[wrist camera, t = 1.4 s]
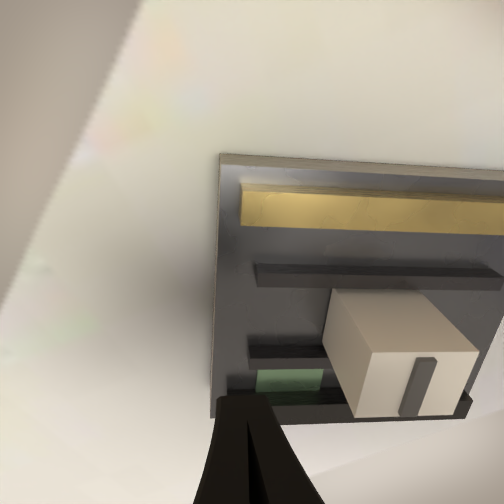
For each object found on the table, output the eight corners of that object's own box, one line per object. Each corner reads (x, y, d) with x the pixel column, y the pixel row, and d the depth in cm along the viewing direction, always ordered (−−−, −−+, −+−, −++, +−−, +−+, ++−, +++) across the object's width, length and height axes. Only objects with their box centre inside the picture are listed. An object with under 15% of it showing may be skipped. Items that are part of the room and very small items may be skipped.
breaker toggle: (416, 287, 15) (484, 355, 12) (399, 341, 16) (455, 419, 13) (332, 286, 15) (374, 357, 11) (321, 341, 16) (356, 422, 12)
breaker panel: (521, 171, 16) (585, 191, 13) (439, 381, 21) (474, 426, 18) (219, 153, 14) (222, 171, 11) (210, 386, 19) (210, 436, 17)
